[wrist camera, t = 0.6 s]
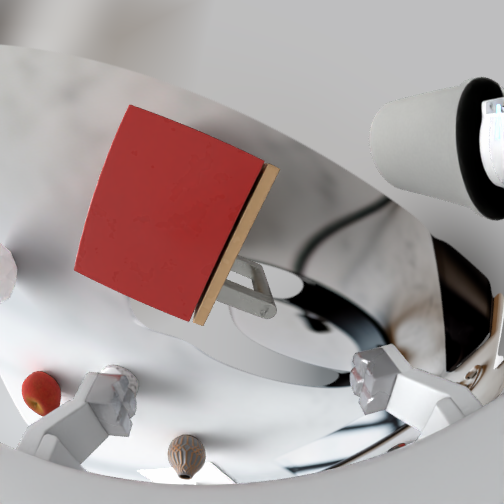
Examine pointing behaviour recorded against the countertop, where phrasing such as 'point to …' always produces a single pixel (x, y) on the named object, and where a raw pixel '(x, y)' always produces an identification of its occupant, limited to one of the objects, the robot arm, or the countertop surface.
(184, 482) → the igloo
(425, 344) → the countertop surface
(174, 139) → the cabinet
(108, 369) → the mug
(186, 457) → the vase
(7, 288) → the decorative ball
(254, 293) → the door
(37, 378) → the apple
